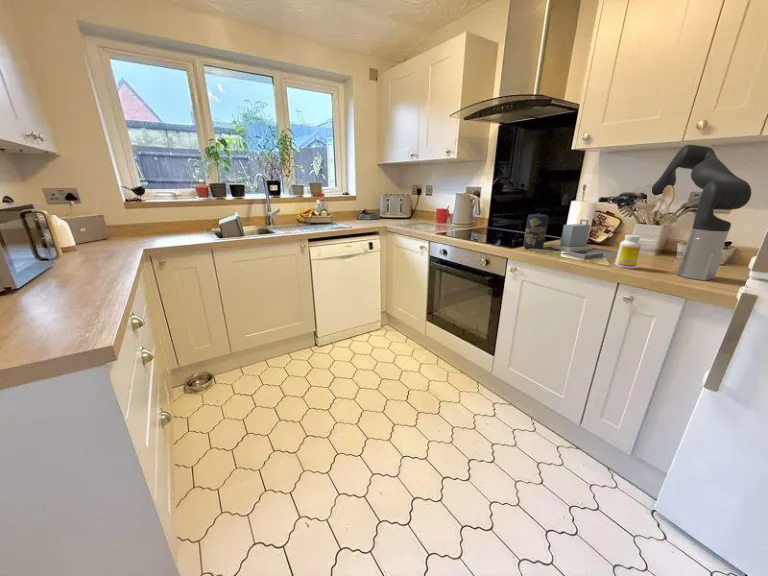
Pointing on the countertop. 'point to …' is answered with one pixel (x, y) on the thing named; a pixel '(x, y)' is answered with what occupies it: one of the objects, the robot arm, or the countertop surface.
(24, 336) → the countertop surface
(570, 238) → the grey block
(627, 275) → the countertop surface
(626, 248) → the supplement bottle
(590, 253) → the printer bay
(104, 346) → the countertop surface
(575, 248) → the tray
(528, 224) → the canister
